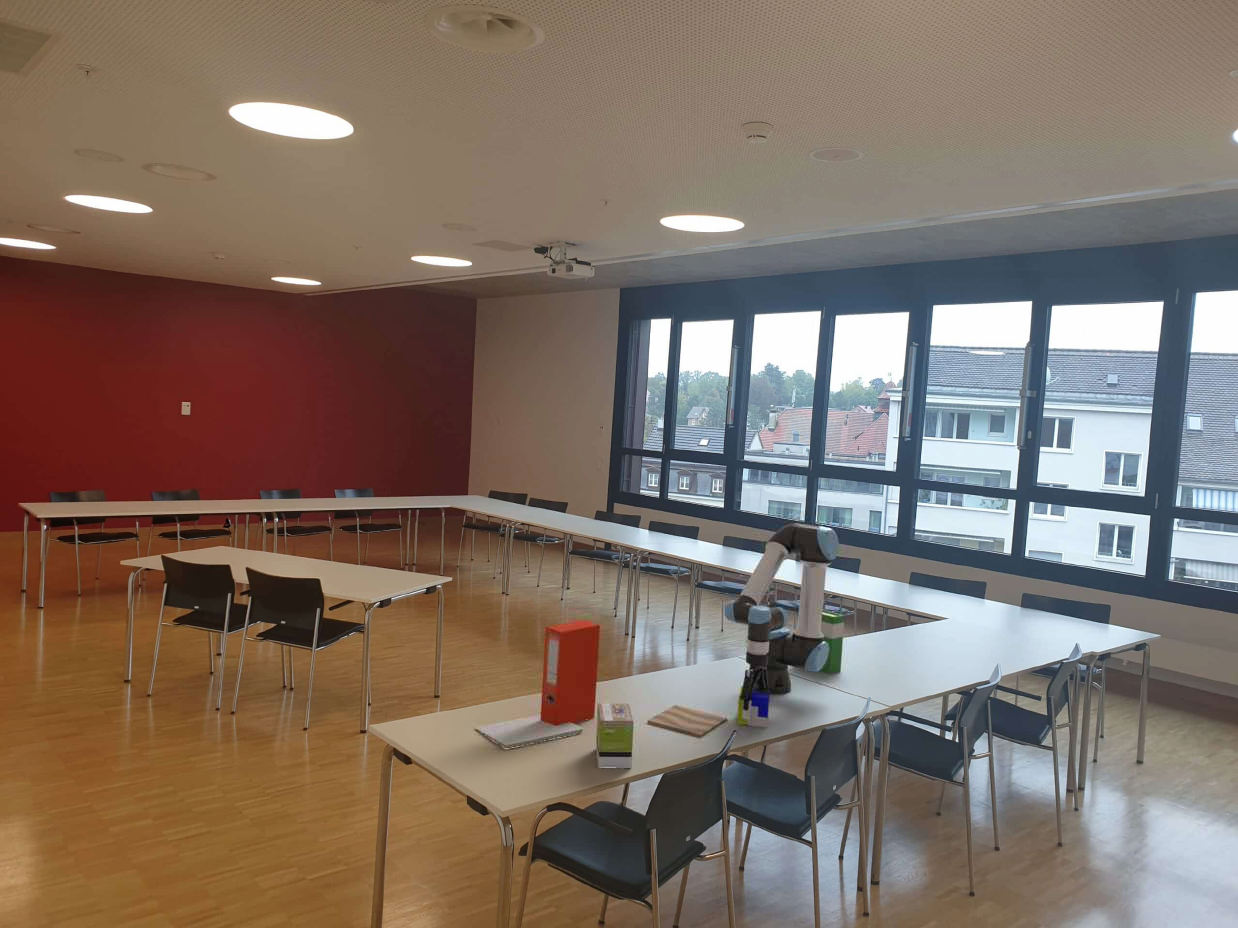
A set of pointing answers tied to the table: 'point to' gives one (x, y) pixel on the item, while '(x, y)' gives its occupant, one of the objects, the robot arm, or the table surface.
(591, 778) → the table surface
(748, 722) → the puzzle toy
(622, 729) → the tea box
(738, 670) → the table surface
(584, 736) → the table surface
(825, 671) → the hardback book
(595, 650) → the file binder
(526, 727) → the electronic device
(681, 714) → the walnut board
